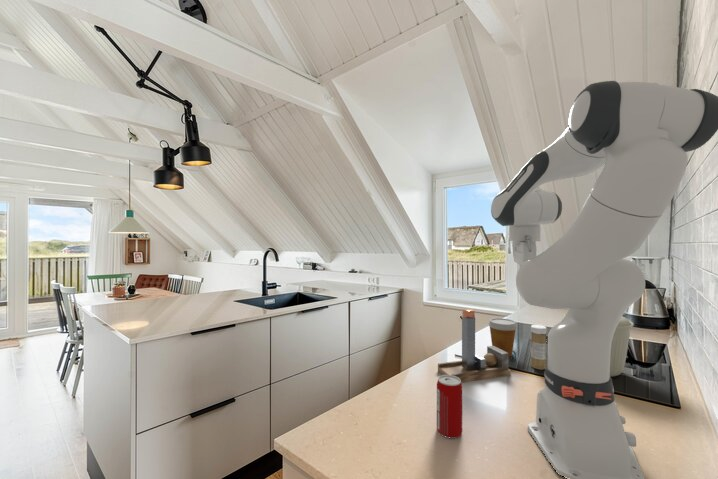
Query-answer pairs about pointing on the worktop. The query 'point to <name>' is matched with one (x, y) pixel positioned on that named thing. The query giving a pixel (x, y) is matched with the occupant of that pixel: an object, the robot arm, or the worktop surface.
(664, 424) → the worktop surface
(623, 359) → the canister
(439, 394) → the soda can
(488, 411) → the worktop surface
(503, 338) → the disposable coffee cup
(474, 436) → the worktop surface
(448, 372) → the cracker bench
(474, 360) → the slider
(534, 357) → the sprinkles bottle
